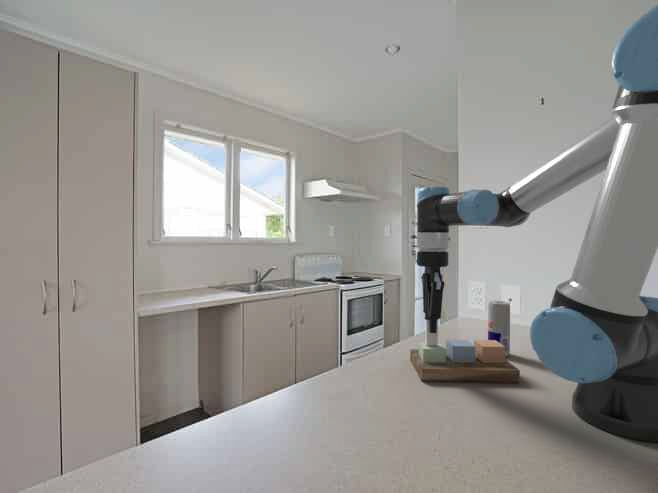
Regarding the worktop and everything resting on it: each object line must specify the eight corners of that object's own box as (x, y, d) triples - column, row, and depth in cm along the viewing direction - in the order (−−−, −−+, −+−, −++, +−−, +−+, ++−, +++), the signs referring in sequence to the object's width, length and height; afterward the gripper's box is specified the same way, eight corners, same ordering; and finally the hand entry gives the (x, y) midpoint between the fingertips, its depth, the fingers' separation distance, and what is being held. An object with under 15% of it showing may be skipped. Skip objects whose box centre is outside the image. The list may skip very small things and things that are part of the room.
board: (519, 383, 79) (519, 370, 79) (421, 381, 80) (421, 368, 80) (493, 361, 93) (493, 350, 93) (410, 360, 94) (410, 349, 94)
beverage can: (504, 351, 101) (505, 300, 101) (513, 357, 95) (513, 303, 95) (484, 350, 101) (485, 299, 101) (491, 357, 96) (492, 303, 96)
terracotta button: (505, 363, 83) (505, 346, 83) (482, 363, 83) (482, 346, 83) (495, 355, 88) (495, 340, 88) (473, 355, 89) (474, 339, 88)
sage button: (445, 365, 84) (445, 349, 84) (423, 365, 84) (423, 349, 84) (439, 357, 89) (439, 342, 89) (418, 357, 89) (418, 342, 89)
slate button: (475, 362, 83) (475, 346, 83) (452, 362, 84) (452, 346, 83) (467, 355, 89) (467, 339, 89) (446, 355, 89) (446, 339, 89)
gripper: (456, 251, 79) (454, 353, 80) (440, 249, 92) (439, 337, 93) (423, 251, 79) (421, 353, 80) (412, 249, 92) (411, 336, 93)
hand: (431, 344), depth 86 cm, fingers closed
